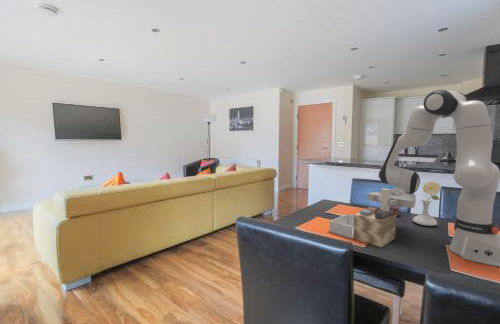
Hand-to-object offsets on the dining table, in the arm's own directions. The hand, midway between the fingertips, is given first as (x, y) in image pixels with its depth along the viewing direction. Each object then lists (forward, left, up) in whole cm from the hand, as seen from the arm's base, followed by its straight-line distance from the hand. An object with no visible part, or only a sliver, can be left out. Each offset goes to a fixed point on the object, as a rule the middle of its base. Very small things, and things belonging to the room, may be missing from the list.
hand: (384, 202), depth 118 cm
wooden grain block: (+4, -1, -19) cm, 19 cm away
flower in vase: (-6, -43, -19) cm, 47 cm away
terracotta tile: (+7, -4, -7) cm, 11 cm away
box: (+17, -1, -19) cm, 25 cm away
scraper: (0, -1, -6) cm, 7 cm away
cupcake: (+13, -48, -19) cm, 53 cm away
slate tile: (+7, +3, -7) cm, 10 cm away
